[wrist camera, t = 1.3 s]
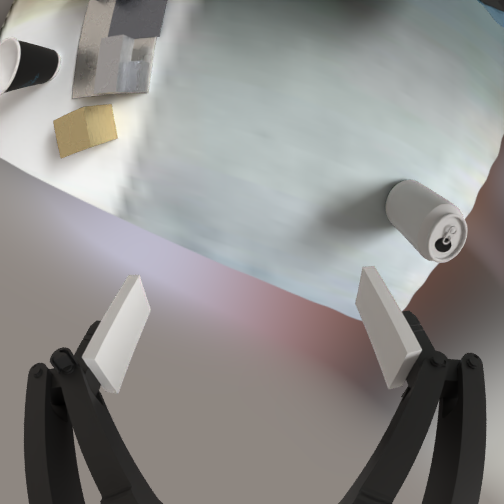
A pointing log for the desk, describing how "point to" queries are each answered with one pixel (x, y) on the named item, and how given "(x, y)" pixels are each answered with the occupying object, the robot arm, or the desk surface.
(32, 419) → the robot arm
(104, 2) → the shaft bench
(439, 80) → the desk surface
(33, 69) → the dixie cup
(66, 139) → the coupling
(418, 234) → the can
